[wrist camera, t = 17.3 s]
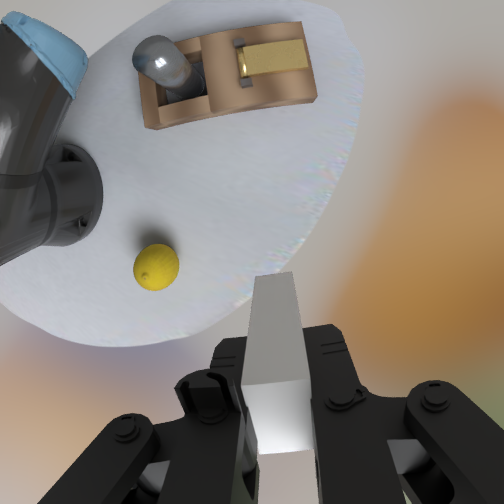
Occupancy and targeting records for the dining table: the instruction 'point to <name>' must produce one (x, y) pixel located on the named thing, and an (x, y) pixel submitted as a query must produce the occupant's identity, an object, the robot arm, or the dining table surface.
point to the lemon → (156, 267)
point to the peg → (167, 67)
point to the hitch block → (230, 78)
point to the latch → (272, 58)
